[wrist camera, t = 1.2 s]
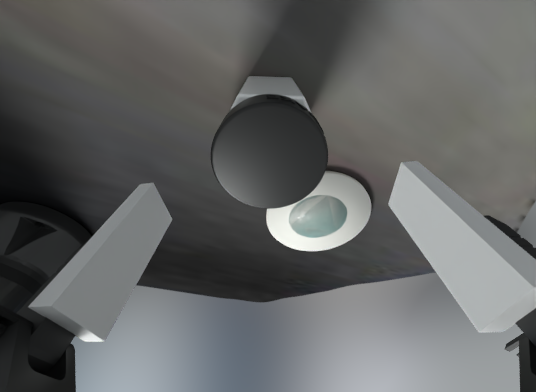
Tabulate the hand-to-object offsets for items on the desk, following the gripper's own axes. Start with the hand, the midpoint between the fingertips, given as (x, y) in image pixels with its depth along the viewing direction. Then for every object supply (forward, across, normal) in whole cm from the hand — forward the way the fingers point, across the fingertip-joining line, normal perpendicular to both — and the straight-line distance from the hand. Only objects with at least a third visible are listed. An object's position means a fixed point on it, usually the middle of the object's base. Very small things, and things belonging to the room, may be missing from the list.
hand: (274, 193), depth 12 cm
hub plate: (+15, +6, -16) cm, 23 cm away
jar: (+16, 0, 0) cm, 16 cm away
